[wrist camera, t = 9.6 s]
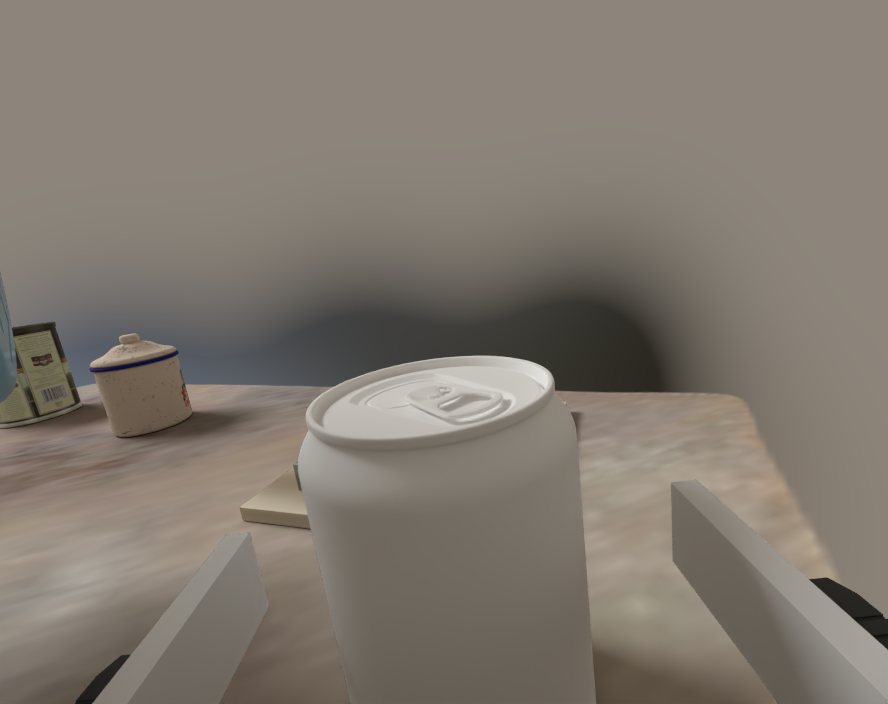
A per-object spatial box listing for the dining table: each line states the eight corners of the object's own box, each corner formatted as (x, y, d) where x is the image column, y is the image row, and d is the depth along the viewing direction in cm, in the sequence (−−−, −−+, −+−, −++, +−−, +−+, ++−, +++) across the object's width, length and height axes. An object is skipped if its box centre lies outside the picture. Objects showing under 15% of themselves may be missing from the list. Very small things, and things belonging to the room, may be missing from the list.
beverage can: (479, 585, 21) (446, 345, 18) (645, 706, 14) (631, 366, 12) (323, 709, 16) (249, 404, 13) (472, 971, 10) (385, 493, 7)
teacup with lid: (208, 413, 56) (185, 326, 53) (130, 443, 48) (98, 343, 46) (165, 406, 62) (142, 328, 60) (90, 431, 55) (60, 344, 52)
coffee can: (30, 410, 72) (1, 328, 69) (97, 400, 73) (70, 318, 70) (-26, 434, 62) (-63, 339, 59) (52, 421, 63) (19, 327, 60)
